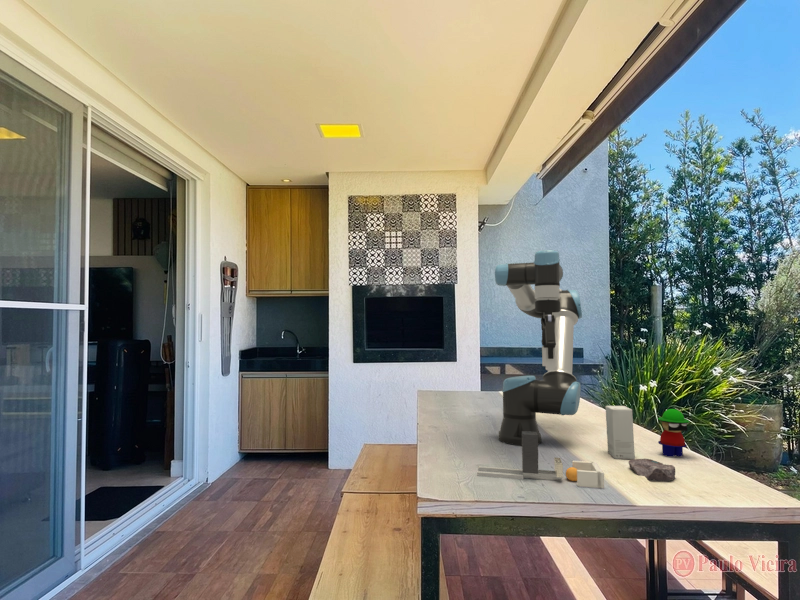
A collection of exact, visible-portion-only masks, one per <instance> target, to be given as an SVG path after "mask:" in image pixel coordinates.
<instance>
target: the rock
mask: <svg viewBox="0 0 800 600" xmlns="http://www.w3.org/2000/svg"><path fill="white" fill-rule="evenodd" d="M628 460H629V461H628V465H629V468H630V469H631V470H632V471H634V473H635V474H636V475H637V476H640V477H645V478H646V479H647V481H656V482H663V481H664V482H671V481H673V480H674V479H675V477H676V467H675V466H674V465H673V464H666V463H665V464H664V463H663V462H661V461H658V460H653V459H651V458H650V459H649V458H635V459H628Z"/></svg>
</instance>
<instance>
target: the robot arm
mask: <svg viewBox="0 0 800 600" xmlns="http://www.w3.org/2000/svg"><path fill="white" fill-rule="evenodd" d="M560 260H561V259H560V253H559V251H557V250H553V249H545V250H544V249H543V250H539V251H536V252H535V254H534V261H533V262H519V263H518V262H515V263H502V264H501V263H500V264H497V265H496V266H495V270H494V279H495V280H494V281H495V284H496V285H497V286H501V287H502V286H503V287H505V286H506V288H508V290H509V291H510V293H511V295H513V297H514V298H515V301H514V302H515V304H516V306H517V308H518V309H519V310H520V312H523V313H524V314H525V315H528V316H529V317H533V318H536V319H540V324H541V327H540V328H541V353H542V354H541V356H542V357H541V360H542V361H541V363H542V365H541V366H542V367H545V370H546V371H547V372H545V373H544V374H543V375H542V379H540V380H539V379H537V378H536V376H535V375H521V376H512V377H511V376H510V377H507V378H505V379H504V380H503V382H502V391H501V392H502V412H503V413H502V421H501V426H500V430H499V431H498V440H499V441H500V442H502V443H505V444H509V445H516V446H522V431H529V432H537V434H538V445H539V444H541V443H542V435H541V433H540V429H539V426H538V423H537V415H536V414H539V413H540V414H547V415H549V414H550V415H559V416H560V415H561V416H573V415H574V416H575V415H576V414H577V412H578V411H579V408H580V407H579V406H580V403H581V402H580V400H581V391H582V390H581V389H582V388H581V387H582V386H581V382H578V381H577V378H576V376H575V375H573V361H574V360H573V359H574V357H573V355H574V329H575V328H574V327H575V325H576V324H578V321H579V320H580V319H582V318H583V314H582V313H583V311H582V305H581V296H580V292H579V291H578V290H577V289H576V290H575V289H566V290H565V289H564V290H563V289H562V288H561V287H560V285H561V284H560V282H561V281H562V279H563V277H564V268H563V267H562V265H560V262H561V261H560ZM533 285H534V289H533V288H532V287H533Z"/></svg>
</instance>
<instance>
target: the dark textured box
mask: <svg viewBox="0 0 800 600" xmlns="http://www.w3.org/2000/svg"><path fill="white" fill-rule="evenodd" d="M553 459H554V461H553V463H554V466H553V467H554V468H553V469H554V470H548V469H547V470H546V469H545V470H544V469H539V444H538V434H537V432H529V431H522V445H521V463H522V464H521V468H522V469H521V470H522V474H521V475H523V479H533V480H534V479H535V480H547V481H559V482H562V481H563V478H564V470H563V469H564V467H563V466H564V465H563V462H562V459H561V457H554V458H553Z"/></svg>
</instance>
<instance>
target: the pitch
mask: <svg viewBox="0 0 800 600" xmlns="http://www.w3.org/2000/svg"><path fill="white" fill-rule="evenodd" d="M476 474H477V475H476V476H477V477H487V478H498V479H499V478H501V479H509V480H510V479H511V480H513V479H514V480H524V478H523V475H522V469H518V468H516V469H515V468H503V467H493V466H492V467H491V466H478V469H477V471H476Z"/></svg>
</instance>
